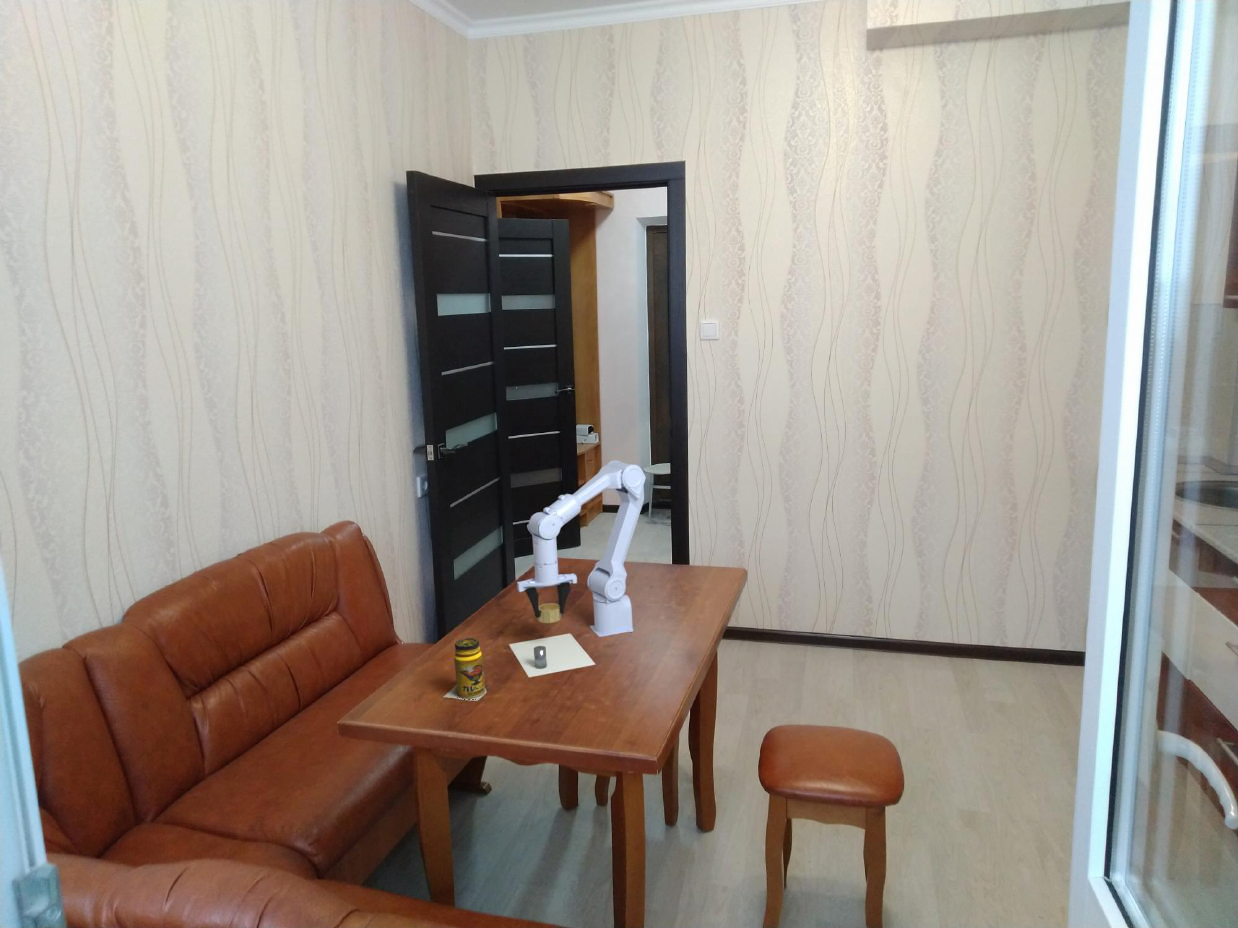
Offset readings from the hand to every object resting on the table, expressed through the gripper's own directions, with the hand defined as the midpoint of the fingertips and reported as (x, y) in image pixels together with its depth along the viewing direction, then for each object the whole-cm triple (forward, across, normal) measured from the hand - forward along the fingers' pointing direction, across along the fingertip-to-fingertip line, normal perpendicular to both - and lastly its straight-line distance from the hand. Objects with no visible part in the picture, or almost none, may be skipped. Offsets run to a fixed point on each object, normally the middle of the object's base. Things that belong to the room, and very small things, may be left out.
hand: (549, 614), depth 210 cm
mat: (+8, +2, +5) cm, 10 cm away
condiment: (+9, +24, +16) cm, 30 cm away
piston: (+8, +6, +11) cm, 15 cm away
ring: (+1, 0, 0) cm, 1 cm away
